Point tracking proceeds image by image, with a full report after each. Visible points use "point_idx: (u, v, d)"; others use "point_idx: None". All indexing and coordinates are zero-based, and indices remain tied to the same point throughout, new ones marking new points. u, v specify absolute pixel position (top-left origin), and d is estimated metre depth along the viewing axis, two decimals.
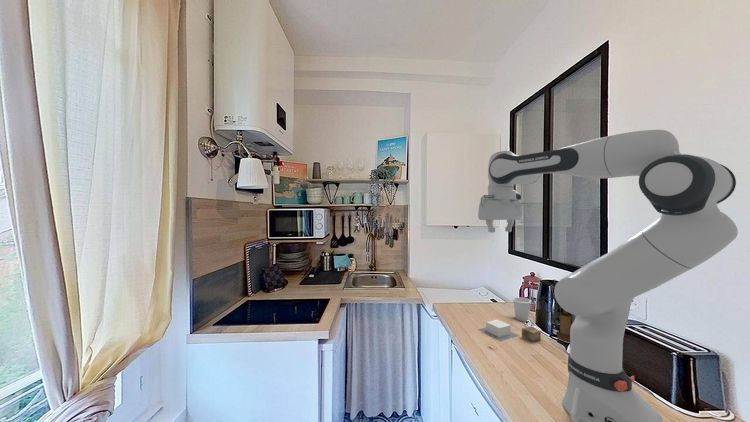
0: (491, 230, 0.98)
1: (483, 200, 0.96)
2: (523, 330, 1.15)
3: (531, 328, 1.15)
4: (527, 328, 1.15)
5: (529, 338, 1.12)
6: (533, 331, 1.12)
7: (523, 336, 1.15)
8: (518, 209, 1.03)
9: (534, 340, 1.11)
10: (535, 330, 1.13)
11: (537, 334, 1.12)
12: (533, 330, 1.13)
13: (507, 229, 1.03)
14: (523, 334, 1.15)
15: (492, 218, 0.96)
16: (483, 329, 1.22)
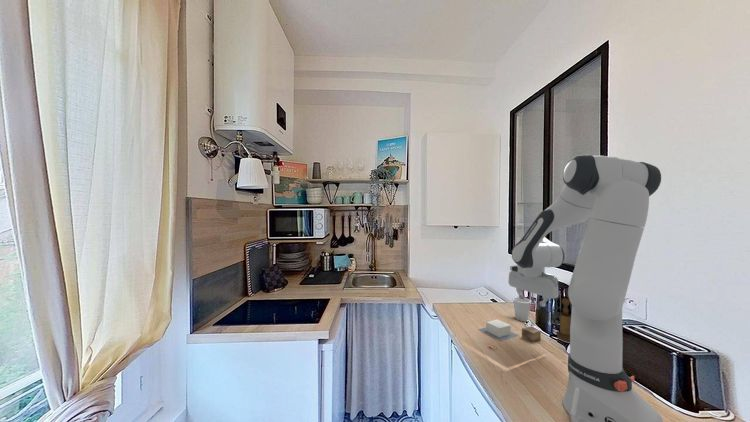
0: (545, 304, 1.10)
1: None
2: (523, 330, 1.14)
3: (531, 328, 1.15)
4: (527, 328, 1.15)
5: (529, 338, 1.12)
6: (533, 331, 1.12)
7: (523, 336, 1.15)
8: None
9: (534, 340, 1.11)
10: (535, 330, 1.13)
11: (537, 334, 1.12)
12: (533, 330, 1.13)
13: (522, 297, 1.18)
14: (523, 334, 1.14)
15: None
16: (483, 329, 1.22)
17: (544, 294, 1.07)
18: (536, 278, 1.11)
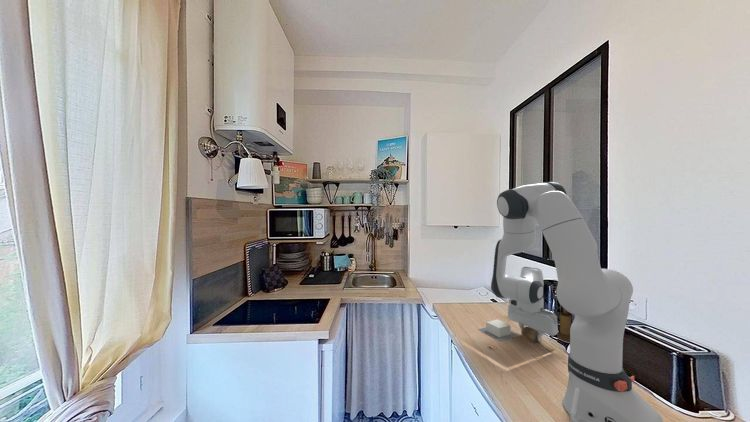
0: (541, 339, 1.11)
1: None
2: (523, 330, 1.15)
3: (531, 328, 1.15)
4: (527, 328, 1.15)
5: (530, 338, 1.12)
6: (533, 330, 1.12)
7: (523, 336, 1.15)
8: None
9: (534, 340, 1.11)
10: (535, 330, 1.13)
11: (537, 334, 1.12)
12: (533, 330, 1.13)
13: None
14: (523, 334, 1.15)
15: None
16: (483, 329, 1.22)
17: (543, 331, 1.07)
18: (535, 314, 1.11)
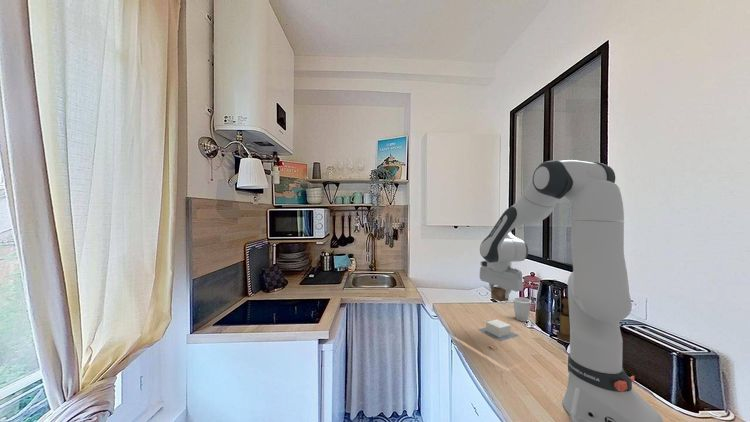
0: (508, 296, 1.16)
1: None
2: (492, 289, 1.20)
3: (500, 287, 1.20)
4: (496, 287, 1.20)
5: (498, 295, 1.17)
6: (502, 289, 1.18)
7: (492, 294, 1.20)
8: None
9: (502, 297, 1.17)
10: (503, 288, 1.19)
11: (504, 292, 1.17)
12: (501, 288, 1.19)
13: None
14: (492, 292, 1.20)
15: None
16: (483, 329, 1.22)
17: (510, 287, 1.13)
18: (503, 272, 1.16)
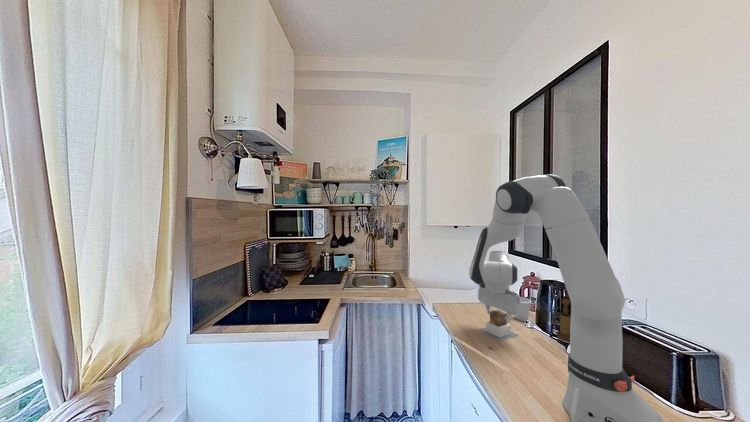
0: (509, 320, 1.15)
1: None
2: (491, 313, 1.20)
3: (498, 311, 1.20)
4: (495, 311, 1.20)
5: (496, 320, 1.17)
6: (500, 313, 1.18)
7: (491, 319, 1.20)
8: None
9: (500, 322, 1.17)
10: (501, 313, 1.19)
11: (503, 317, 1.17)
12: (499, 313, 1.19)
13: None
14: (491, 317, 1.20)
15: None
16: (483, 329, 1.22)
17: (508, 310, 1.13)
18: (501, 295, 1.16)
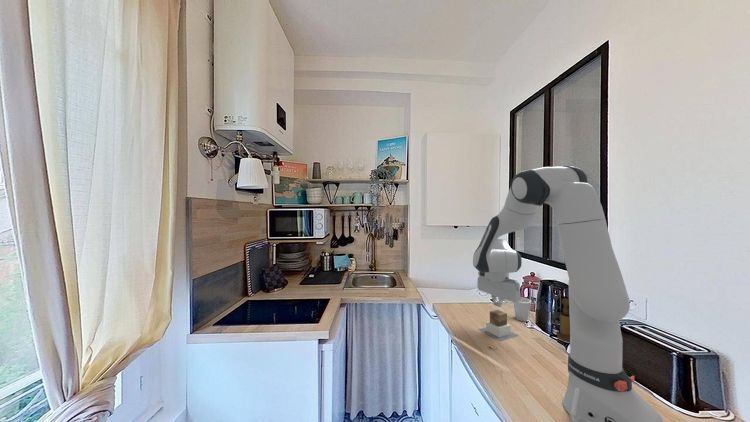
0: (501, 305, 1.19)
1: None
2: (491, 313, 1.20)
3: (498, 311, 1.20)
4: (495, 311, 1.20)
5: (496, 320, 1.17)
6: (500, 313, 1.18)
7: (491, 319, 1.20)
8: None
9: (500, 322, 1.17)
10: (501, 313, 1.19)
11: (503, 317, 1.17)
12: (499, 313, 1.19)
13: None
14: (491, 317, 1.20)
15: None
16: (483, 329, 1.22)
17: (507, 298, 1.13)
18: (500, 283, 1.16)
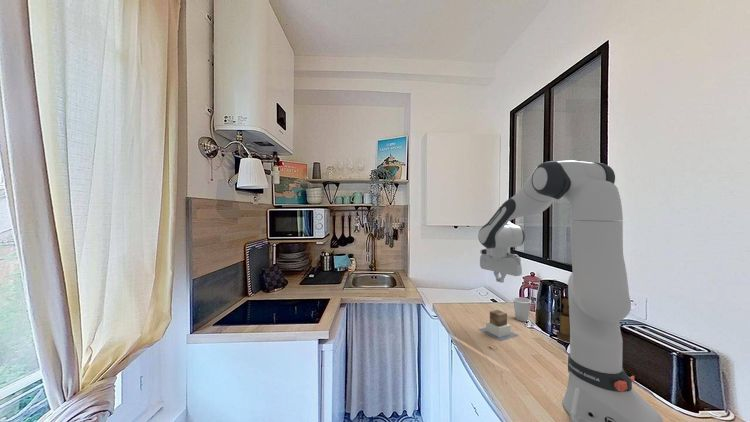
0: (503, 280, 1.22)
1: None
2: (491, 313, 1.20)
3: (498, 311, 1.20)
4: (495, 311, 1.20)
5: (496, 320, 1.17)
6: (500, 313, 1.18)
7: (491, 319, 1.20)
8: None
9: (500, 322, 1.17)
10: (501, 313, 1.19)
11: (503, 317, 1.17)
12: (499, 313, 1.19)
13: None
14: (491, 317, 1.20)
15: None
16: (483, 329, 1.22)
17: (509, 272, 1.17)
18: (502, 258, 1.20)
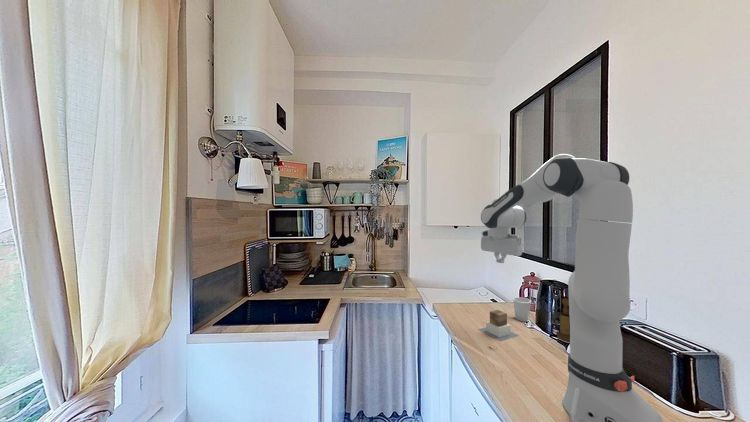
0: (503, 261, 1.25)
1: None
2: (491, 313, 1.20)
3: (498, 311, 1.20)
4: (495, 311, 1.20)
5: (496, 320, 1.17)
6: (500, 313, 1.18)
7: (491, 319, 1.20)
8: None
9: (500, 322, 1.17)
10: (501, 313, 1.19)
11: (503, 317, 1.17)
12: (499, 313, 1.19)
13: None
14: (491, 317, 1.20)
15: None
16: (483, 329, 1.22)
17: (509, 253, 1.19)
18: (503, 239, 1.22)
